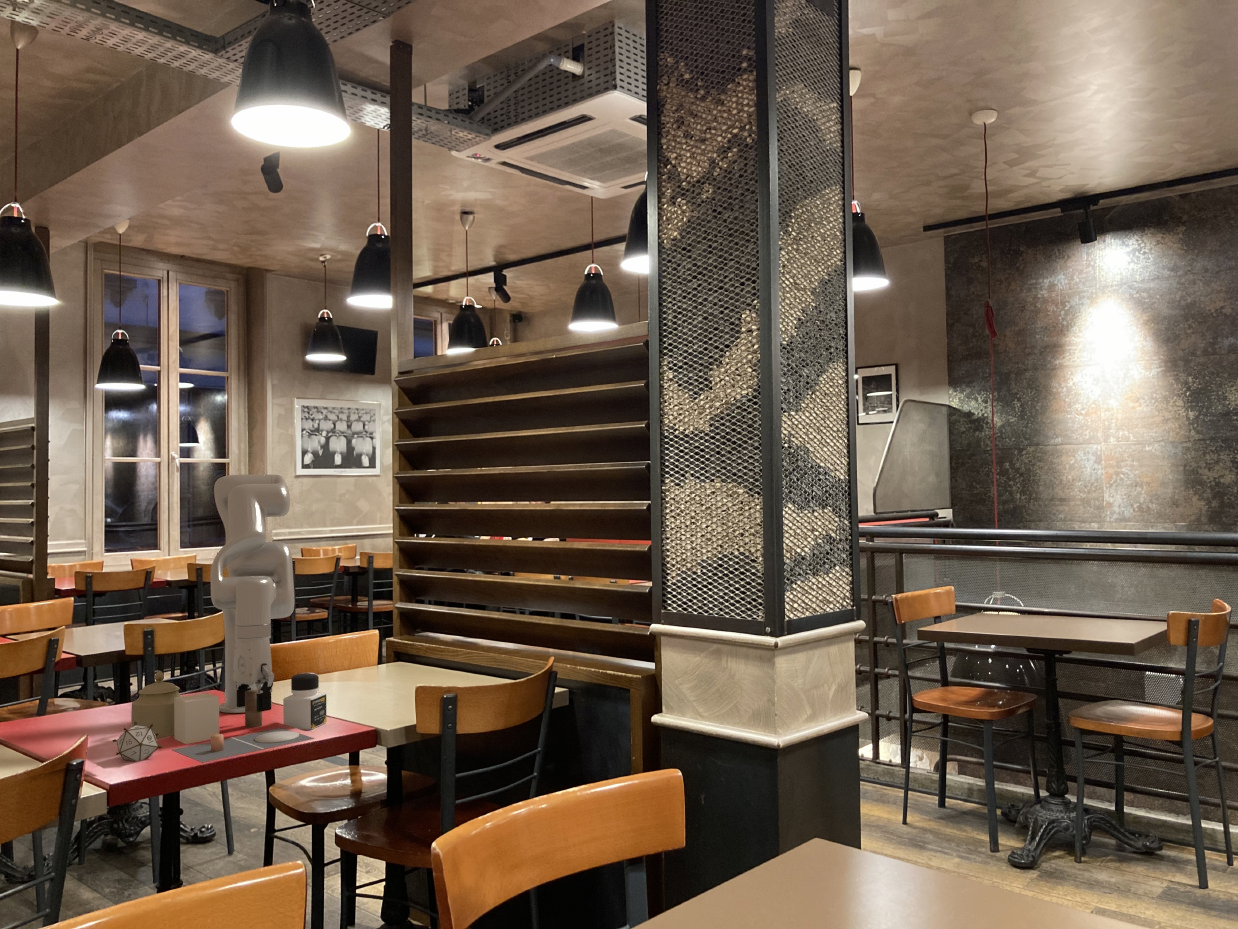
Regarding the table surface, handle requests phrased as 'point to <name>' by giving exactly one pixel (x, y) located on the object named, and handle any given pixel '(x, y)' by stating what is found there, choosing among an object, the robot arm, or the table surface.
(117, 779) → the table surface
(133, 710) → the sugar bowl
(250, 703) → the walnut pin
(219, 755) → the board
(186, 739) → the block
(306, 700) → the medicine bottle
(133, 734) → the game die
